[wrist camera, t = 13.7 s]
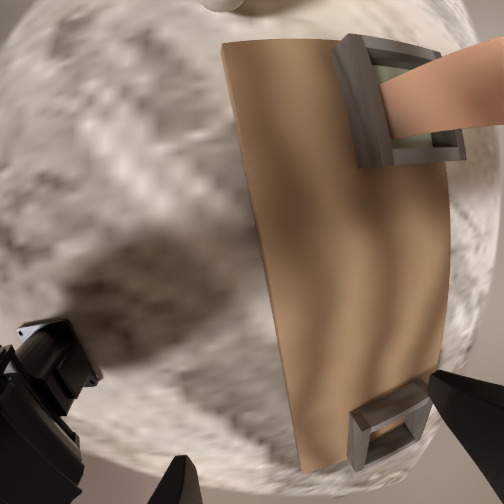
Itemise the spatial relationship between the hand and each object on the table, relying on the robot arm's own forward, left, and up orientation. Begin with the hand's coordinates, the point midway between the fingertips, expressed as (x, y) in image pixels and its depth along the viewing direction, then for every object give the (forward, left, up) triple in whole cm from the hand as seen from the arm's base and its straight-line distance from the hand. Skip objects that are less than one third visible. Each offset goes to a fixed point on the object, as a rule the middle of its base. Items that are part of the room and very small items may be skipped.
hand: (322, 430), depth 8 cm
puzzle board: (+9, -4, -13) cm, 16 cm away
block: (+13, +12, -11) cm, 21 cm away
